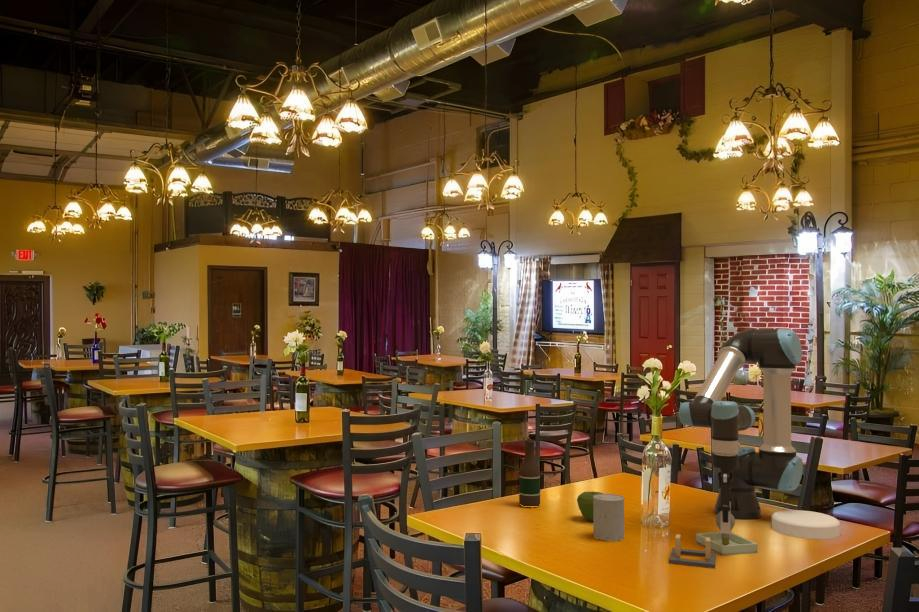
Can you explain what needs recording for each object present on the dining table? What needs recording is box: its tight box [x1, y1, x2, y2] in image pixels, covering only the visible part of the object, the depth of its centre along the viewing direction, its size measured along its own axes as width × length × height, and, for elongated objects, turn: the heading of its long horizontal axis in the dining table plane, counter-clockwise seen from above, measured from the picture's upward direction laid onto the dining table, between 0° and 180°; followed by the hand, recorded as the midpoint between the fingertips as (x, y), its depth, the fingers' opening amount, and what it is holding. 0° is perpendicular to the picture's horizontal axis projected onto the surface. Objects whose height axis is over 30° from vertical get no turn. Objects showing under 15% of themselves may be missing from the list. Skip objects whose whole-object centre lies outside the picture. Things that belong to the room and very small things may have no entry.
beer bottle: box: [518, 438, 541, 507], centre depth 267 cm, size 8×8×24 cm
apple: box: [576, 490, 604, 522], centre depth 247 cm, size 11×10×10 cm
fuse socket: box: [668, 533, 717, 569], centre depth 205 cm, size 12×12×6 cm
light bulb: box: [714, 512, 736, 545], centre depth 217 cm, size 6×6×10 cm
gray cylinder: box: [592, 493, 625, 542], centre depth 227 cm, size 10×10×12 cm
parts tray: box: [695, 531, 759, 556], centre depth 217 cm, size 14×12×2 cm
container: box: [771, 509, 841, 540], centre depth 235 cm, size 20×20×5 cm
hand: (725, 528), depth 217 cm, fingers open, 11 cm apart
